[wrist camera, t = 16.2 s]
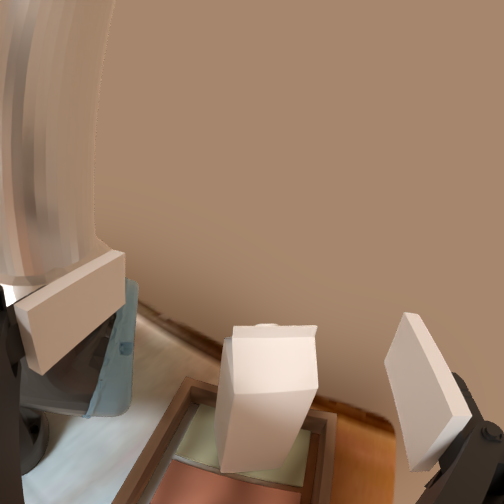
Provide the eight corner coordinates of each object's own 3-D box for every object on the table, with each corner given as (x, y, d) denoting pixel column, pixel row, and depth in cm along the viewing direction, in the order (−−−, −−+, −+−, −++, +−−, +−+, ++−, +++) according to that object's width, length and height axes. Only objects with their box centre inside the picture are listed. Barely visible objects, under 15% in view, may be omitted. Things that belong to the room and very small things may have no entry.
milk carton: (281, 468, 30) (332, 353, 23) (220, 474, 29) (240, 357, 21) (268, 424, 37) (304, 303, 29) (213, 426, 35) (228, 302, 28)
